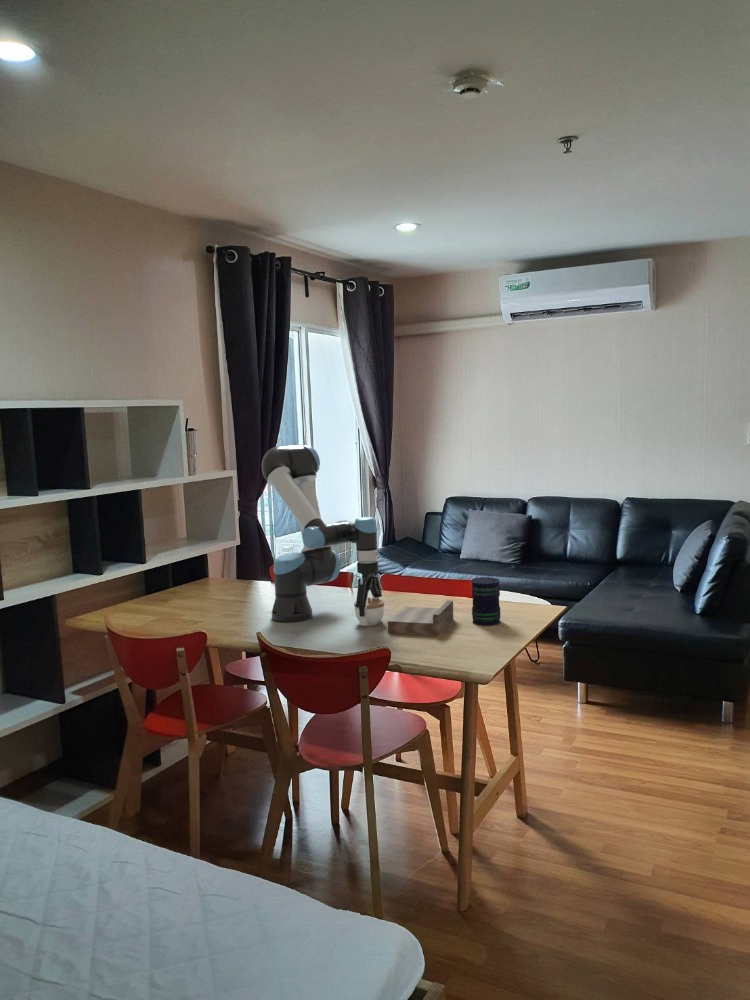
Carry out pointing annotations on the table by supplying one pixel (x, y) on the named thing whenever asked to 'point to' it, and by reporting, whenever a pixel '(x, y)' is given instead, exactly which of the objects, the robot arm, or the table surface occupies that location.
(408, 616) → the riser block
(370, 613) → the lidded jar
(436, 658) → the table surface
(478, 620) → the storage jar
